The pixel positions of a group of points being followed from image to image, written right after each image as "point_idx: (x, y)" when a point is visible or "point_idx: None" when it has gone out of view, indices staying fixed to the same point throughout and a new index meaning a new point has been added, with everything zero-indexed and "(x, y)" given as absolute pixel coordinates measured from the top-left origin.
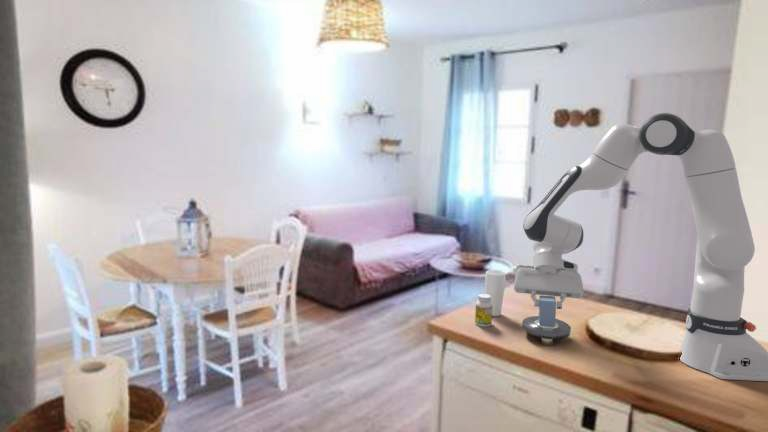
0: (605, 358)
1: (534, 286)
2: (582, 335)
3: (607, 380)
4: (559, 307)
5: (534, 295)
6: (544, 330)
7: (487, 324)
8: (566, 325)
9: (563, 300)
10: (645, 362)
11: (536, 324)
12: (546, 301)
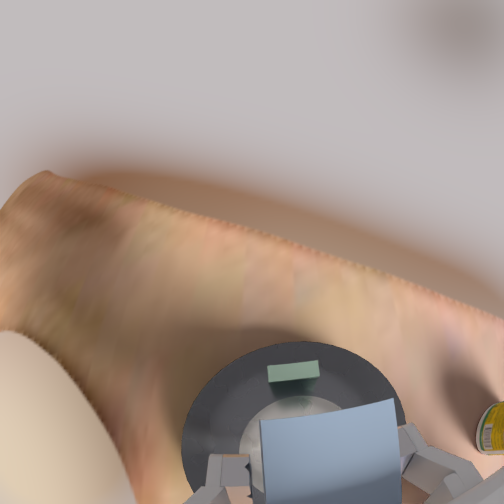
0: (107, 322)
1: (487, 501)
2: (146, 494)
3: (146, 206)
4: (231, 455)
5: (444, 464)
6: (307, 362)
7: (486, 413)
8: (199, 470)
9: (192, 499)
10: (32, 324)
11: None
12: (346, 410)
